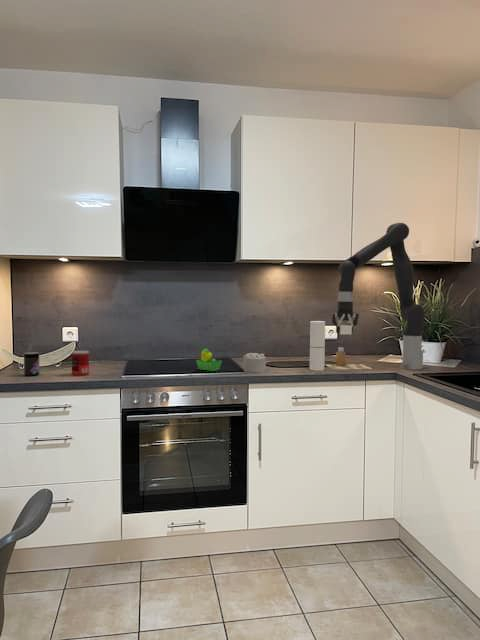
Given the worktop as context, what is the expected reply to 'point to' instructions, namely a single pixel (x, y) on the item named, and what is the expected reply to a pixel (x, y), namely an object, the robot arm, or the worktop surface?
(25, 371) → the supplement container
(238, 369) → the worktop surface
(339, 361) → the bottle
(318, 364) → the cylindrical container
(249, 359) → the lumpy-topped squat cylinder
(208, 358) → the fruit basket
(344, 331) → the white minus sign cube
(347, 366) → the board
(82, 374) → the canned food
